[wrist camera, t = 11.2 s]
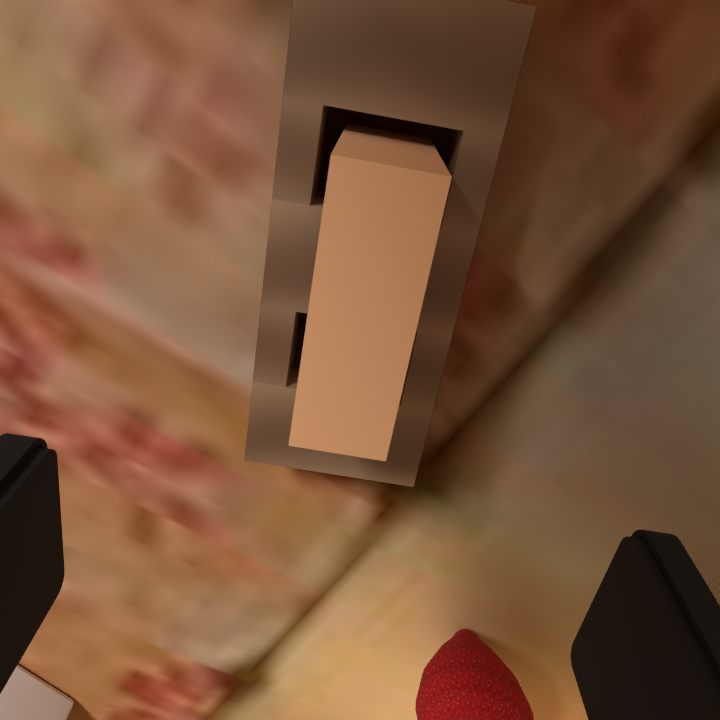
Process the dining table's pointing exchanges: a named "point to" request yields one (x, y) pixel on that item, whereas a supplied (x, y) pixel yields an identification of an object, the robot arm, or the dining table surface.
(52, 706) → the medicine bottle
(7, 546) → the robot arm
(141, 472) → the dining table surface
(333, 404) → the peach block
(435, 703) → the strawberry
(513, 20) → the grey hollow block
